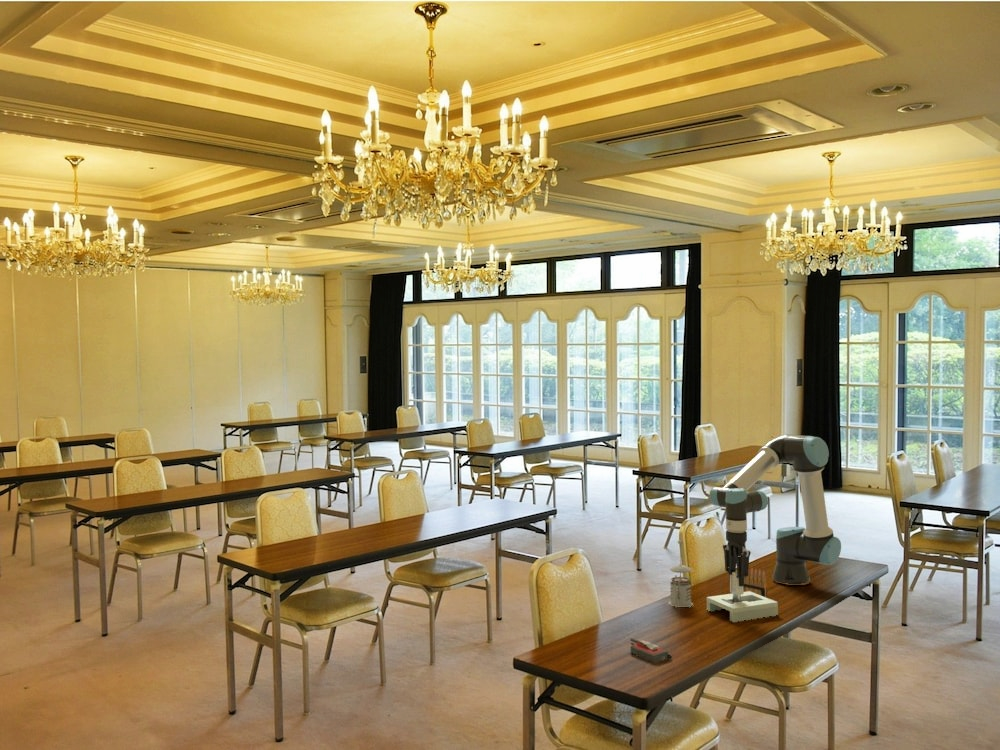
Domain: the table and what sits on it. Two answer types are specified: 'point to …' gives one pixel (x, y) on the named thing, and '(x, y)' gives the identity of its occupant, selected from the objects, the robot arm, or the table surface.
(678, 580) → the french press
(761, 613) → the keyhole board
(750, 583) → the ammunition clip
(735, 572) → the steel peg
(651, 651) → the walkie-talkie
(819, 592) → the table surface
